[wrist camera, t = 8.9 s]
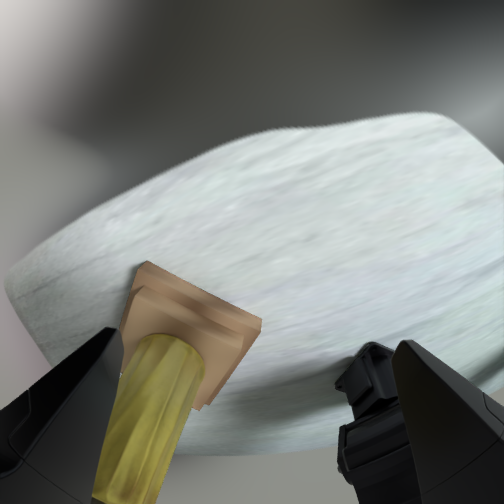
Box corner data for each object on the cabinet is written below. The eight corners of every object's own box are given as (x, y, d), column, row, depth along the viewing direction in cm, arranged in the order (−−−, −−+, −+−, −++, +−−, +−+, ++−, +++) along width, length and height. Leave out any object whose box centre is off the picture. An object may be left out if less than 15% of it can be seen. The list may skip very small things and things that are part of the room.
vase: (159, 318, 21) (62, 472, 7) (221, 366, 22) (177, 533, 8) (125, 357, 23) (45, 482, 9) (180, 397, 24) (130, 532, 10)
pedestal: (261, 319, 25) (259, 346, 21) (212, 392, 28) (205, 419, 24) (147, 260, 24) (126, 279, 20) (119, 345, 27) (102, 368, 24)
